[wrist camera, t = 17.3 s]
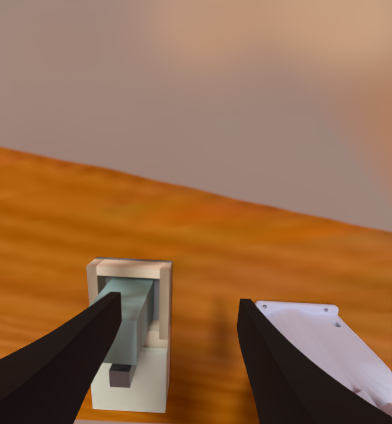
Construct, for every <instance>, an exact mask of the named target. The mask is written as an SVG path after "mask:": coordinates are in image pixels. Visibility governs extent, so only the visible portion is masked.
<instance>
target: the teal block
mask: <svg viewBox="0 0 392 424" xmlns="http://www.w3.org/2000/svg"><path fill="white" fill-rule="evenodd" d="M109 292H121V309H122V322H121V325H120V328H119V330H118V333H117V335H116V338H115V340H114V342H113V344H112V346H111V348H110V350H109V352H108V353H107V355H106V357H105V359H104V361H103V363H111V364H126V365H137V362H138V359H139V356H140V353H141V350H142V347H143V344H144V341H145V338H146V335H147V331H148V328H149V325H150V322H151V319H152V316H153V313H154V278H137V277H119V276H114V277H113V278H112V279H111V280H110V282H109V283H108V284H107V285H106V286H105V288H104V289H103V290H102V291H101V292H100V294H99V295H98V296H97V297H96V298H95V300H94V301H93V302H92V303H91V304H90V306H91V305H92V304H94V303H95V302H97V301H98V300H99V299H101V298H102V297H103V296H105V295H106V294H108V293H109ZM90 306H89V307H90Z"/></svg>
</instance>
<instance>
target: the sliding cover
mask: <svg viewBox="0 0 392 424" xmlns="http://www.w3.org/2000/svg"><path fill="white" fill-rule="evenodd" d="M166 391H167V348H149V347H142V350H141V353H140V356H139V359H138V362H137V365H126V364H111V363H102V365H101V367H100V369H99V370H98V372H97V374H96V376H95V378H94V380H93V382H92V384H91V392H92V403H93V409H105V410H122V411H140V412H157V413H165V411H166Z"/></svg>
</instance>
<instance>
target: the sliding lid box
mask: <svg viewBox="0 0 392 424" xmlns="http://www.w3.org/2000/svg"><path fill="white" fill-rule="evenodd" d="M86 268H87V280H88V292H89V305H90V304H91V303H92V302H93V301H94V300H95V298H96V297H97V296H98V295H99V294H100V292H101V291H102V290H103V289H104V288H105V286H106V285H107V284H108V283H109V282H110V280H111V279H112V278H113V277H114V276H119V277H137V278H154V313H153V316H152V319H151V322H150V325H149V328H148V331H147V335H146V338H145V341H144V344H143V347H149V348H167V391H166V401H167V395H168V388H169V373H170V335H171V296H172V261H161V260H142V259H124V258H105V257H97V258H95V259H94V260H93V261H92V262H90V263H89V264H88V265H87V266H86Z"/></svg>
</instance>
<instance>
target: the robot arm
mask: <svg viewBox="0 0 392 424" xmlns="http://www.w3.org/2000/svg"><path fill="white" fill-rule="evenodd" d="M263 305H265V306H263ZM338 311H339V309H338V307H336V306H335V305H328V304H310V303H291V302H273V301H257V302H256V303H255V304H254V303H253V302H252V300H251V299H240V305H239V313H238V322H237V331H238V338H239V343H240V348H241V352H242V355H243V359H244V363H245V366H246V370H247V373H248V377H249V381H250V384H251V388H252V391H253V395H254V399H255V403H256V407H257V412H258V417H259V422H260V424H392V372H391V371H390V369H389V368H388V367H387V366H386V365H385V364H384V362H383V361H382V360H381V359H380V358H379V357H378V356H377V355H376V354H375V353H374V352H373V351H372V350H371V349H370V348H369V347H368V346H367V345H366V344H365V343H364V342H363V341H362V340H361V339H360V338H359V337H358V336H357V335H356V334H355V333H354V332H353V331H352V330H351V329H350V328H349V327H348V326H347V325H346V324H345V323H344V322H343V320H342V319H341V318H340V317H339V316H338ZM121 322H122V309H121V292H109V293H108V294H106V295H105V296H103V297H102V298H101V299H99V300H98V301H97V302H95V303H94V304H92V305H91V306H90V307H88V308H87V309H85V310H84V311H83V312H81V313H80V314H78V315H77V316H75V317H74V318H72V319H71V320H69V321H68V322H66V323H65V324H63V325H62V326H60V327H59V328H57V329H55V330H54V331H52V332H50V333H49V334H47V335H45V336H43V337H42V338H40V339H38V340H36V341H35V342H33V343H31V344H29V345H27V346H25V347H23V348H21V349H19V350H17V351H16V352H14V353H12V354H10V355H8V356H6V357H4V358H2V359H0V424H73V423H74V421H75V418H76V416H77V414H78V412H79V409H80V407H81V405H82V402H83V400H84V398H85V396H86V394H87V392H88V390H89V388H90V385H91V384H92V382H93V380H94V378H95V376H96V374H97V372H98V370H99V369H100V367H101V365H102V363H103V361H104V359H105V357H106V355H107V353H108V352H109V350H110V348H111V346H112V344H113V342H114V340H115V338H116V335H117V333H118V330H119V328H120V325H121Z"/></svg>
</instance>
